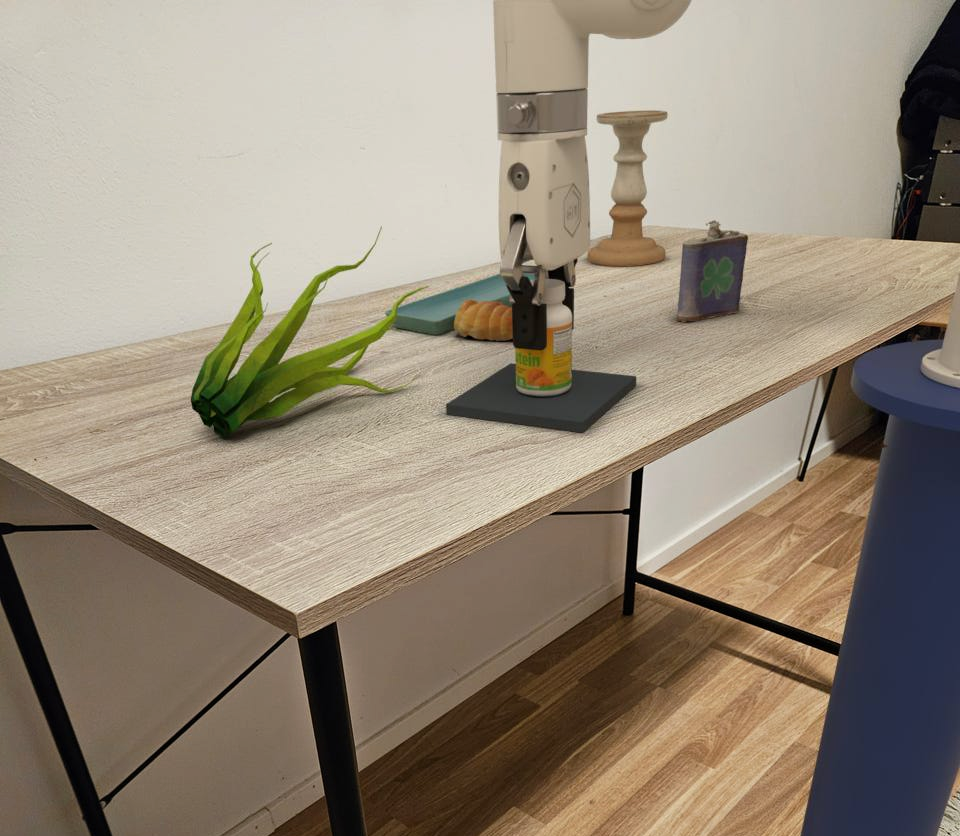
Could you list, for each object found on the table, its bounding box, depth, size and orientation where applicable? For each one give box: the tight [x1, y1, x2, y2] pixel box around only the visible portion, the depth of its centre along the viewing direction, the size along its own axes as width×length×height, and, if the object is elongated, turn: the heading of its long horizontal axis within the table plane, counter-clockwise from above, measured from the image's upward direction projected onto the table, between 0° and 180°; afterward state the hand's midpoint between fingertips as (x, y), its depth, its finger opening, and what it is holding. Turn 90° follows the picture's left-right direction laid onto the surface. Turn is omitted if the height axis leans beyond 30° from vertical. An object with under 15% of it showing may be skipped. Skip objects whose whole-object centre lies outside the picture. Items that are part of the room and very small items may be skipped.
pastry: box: [453, 299, 513, 342], centre depth 107 cm, size 9×7×4 cm
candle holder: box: [587, 109, 669, 267], centre depth 137 cm, size 12×12×20 cm
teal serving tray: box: [384, 273, 534, 336], centre depth 118 cm, size 26×9×2 cm, turn 140°
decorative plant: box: [190, 226, 430, 440], centre depth 88 cm, size 18×30×15 cm, turn 124°
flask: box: [676, 219, 749, 323], centre depth 108 cm, size 9×3×11 cm, turn 117°
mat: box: [445, 362, 637, 434], centre depth 87 cm, size 14×14×1 cm
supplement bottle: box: [514, 279, 573, 396], centre depth 84 cm, size 5×5×10 cm
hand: (543, 337), depth 84 cm, fingers closed on supplement bottle, 5 cm apart
